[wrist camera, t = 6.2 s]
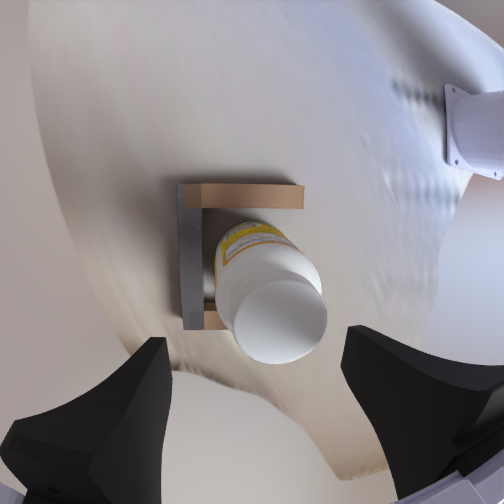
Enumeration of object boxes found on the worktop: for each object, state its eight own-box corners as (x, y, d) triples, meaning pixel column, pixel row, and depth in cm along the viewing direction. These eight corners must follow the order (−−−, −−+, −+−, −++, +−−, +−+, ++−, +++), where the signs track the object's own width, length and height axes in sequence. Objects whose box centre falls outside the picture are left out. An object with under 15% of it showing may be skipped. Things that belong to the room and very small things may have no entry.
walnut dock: (297, 184, 20) (304, 186, 18) (289, 316, 22) (294, 326, 21) (179, 183, 19) (177, 184, 17) (185, 320, 21) (183, 329, 20)
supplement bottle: (234, 207, 20) (253, 238, 10) (302, 239, 21) (366, 290, 12) (202, 276, 21) (195, 355, 11) (268, 303, 22) (303, 387, 13)
